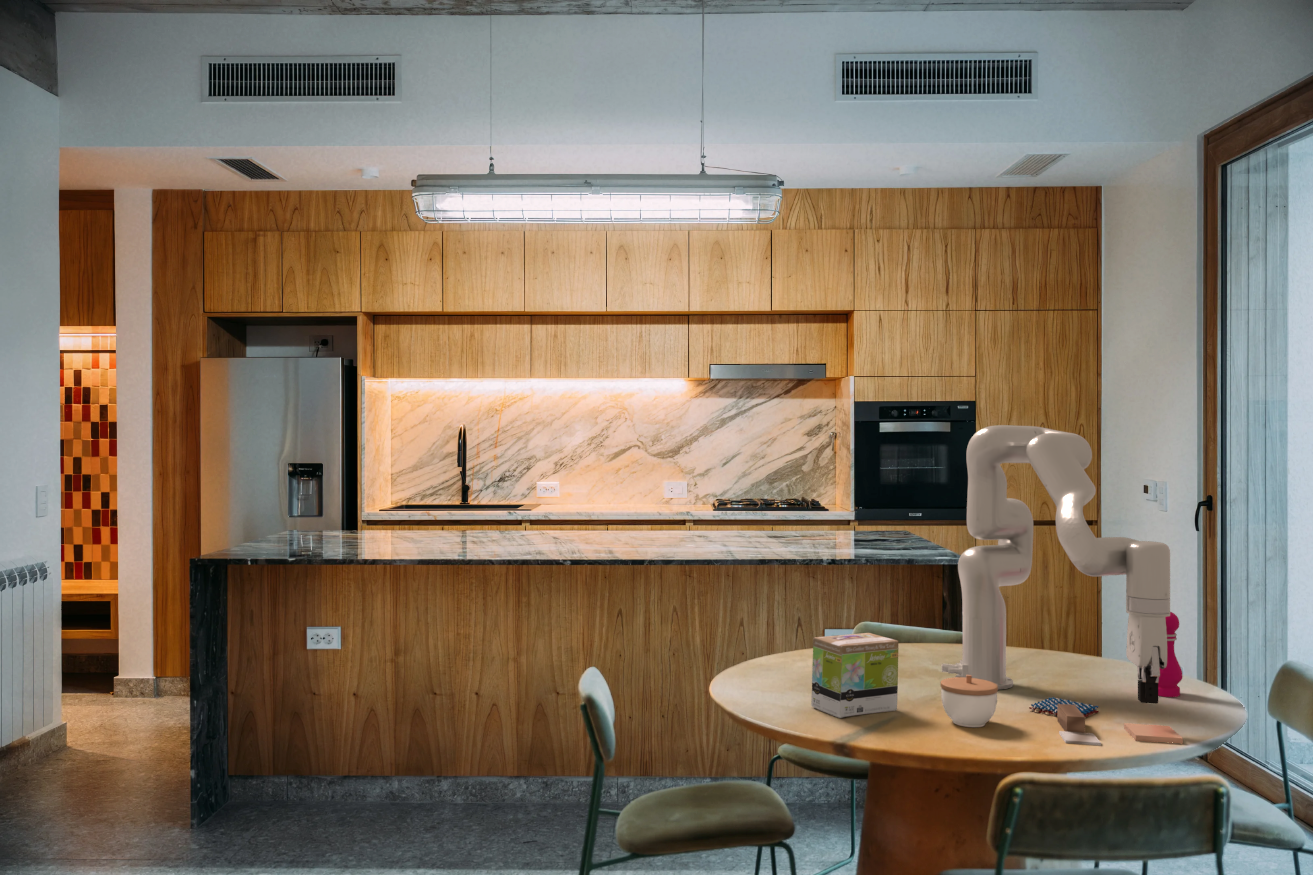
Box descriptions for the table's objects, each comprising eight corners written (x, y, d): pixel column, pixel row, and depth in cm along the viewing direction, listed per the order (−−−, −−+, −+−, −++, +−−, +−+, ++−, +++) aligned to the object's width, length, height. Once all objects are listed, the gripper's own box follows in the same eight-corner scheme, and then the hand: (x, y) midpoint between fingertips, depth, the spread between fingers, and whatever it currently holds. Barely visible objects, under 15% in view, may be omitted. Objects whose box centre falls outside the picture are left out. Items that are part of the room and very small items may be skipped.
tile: (1123, 731, 184) (1135, 743, 176) (1123, 722, 184) (1135, 734, 176) (1169, 734, 182) (1182, 746, 174) (1169, 725, 182) (1182, 738, 174)
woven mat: (1049, 704, 203) (1049, 695, 203) (1100, 715, 195) (1100, 705, 195) (1026, 713, 196) (1026, 703, 196) (1078, 724, 188) (1078, 714, 188)
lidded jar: (999, 732, 180) (999, 683, 180) (940, 728, 183) (941, 679, 183) (995, 717, 191) (995, 670, 191) (939, 713, 193) (940, 667, 194)
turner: (1065, 743, 174) (1065, 724, 174) (1049, 720, 189) (1049, 703, 189) (1100, 745, 173) (1100, 726, 173) (1082, 722, 188) (1082, 705, 188)
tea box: (841, 719, 188) (841, 645, 189) (810, 707, 197) (810, 636, 198) (899, 710, 195) (899, 638, 196) (867, 699, 204) (867, 630, 204)
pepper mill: (1187, 698, 206) (1187, 606, 207) (1151, 696, 208) (1151, 605, 208) (1176, 690, 213) (1176, 601, 214) (1141, 688, 215) (1141, 600, 215)
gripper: (1116, 599, 190) (1116, 691, 190) (1137, 611, 176) (1137, 711, 175) (1157, 600, 189) (1157, 693, 189) (1182, 613, 174) (1182, 713, 174)
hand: (1148, 701), depth 182 cm, fingers closed
